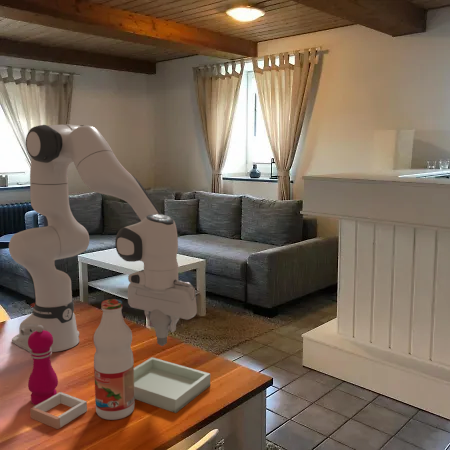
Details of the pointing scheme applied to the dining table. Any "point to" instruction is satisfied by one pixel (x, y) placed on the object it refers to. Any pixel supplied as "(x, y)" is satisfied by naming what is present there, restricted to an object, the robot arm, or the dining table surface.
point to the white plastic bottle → (113, 364)
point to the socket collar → (57, 422)
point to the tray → (168, 384)
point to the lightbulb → (160, 325)
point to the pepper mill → (41, 366)
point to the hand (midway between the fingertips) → (162, 328)
